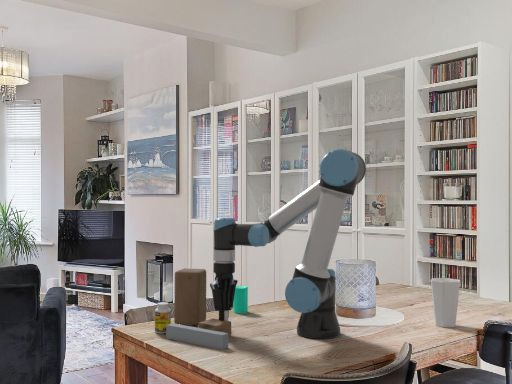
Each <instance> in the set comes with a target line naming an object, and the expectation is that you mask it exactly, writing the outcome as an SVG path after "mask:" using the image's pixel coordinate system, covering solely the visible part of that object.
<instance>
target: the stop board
mask: <svg viewBox="0 0 512 384" xmlns="http://www.w3.org/2000/svg"><path fill="white" fill-rule="evenodd" d="M165 334H166V335H165V336H166V338H165V339H167V338H168V340H172V339H173V341H176V342H177V341H178V342H183V343H187V344H188V343H189V344H193V345H197V346H203V347H208V348H213V349H217V350H225V349H228V348H229V337H228V333H224V332H218V331H213V330H207V329H202V328H198V327H196V326H195V327H194V326H191V325H179V324H175V322H173V323H171V324H168V325H166V333H165Z"/></svg>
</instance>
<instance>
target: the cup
mask: <svg viewBox="0 0 512 384" xmlns="http://www.w3.org/2000/svg"><path fill="white" fill-rule="evenodd" d="M429 281H430V287H431V296H432V304H433V305H432V306H433V308H432V309H433V316H434V324H435V326H436V327H440V328H455V327H456V324H457V323H456V322H457V313H458V306H459V296H460V295H459V294H460V288H461V287H460V286H461V280H460V279H455V278H449V277H434V278H433V277H432V278H431V279H430V280H429Z"/></svg>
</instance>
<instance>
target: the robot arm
mask: <svg viewBox="0 0 512 384" xmlns="http://www.w3.org/2000/svg"><path fill="white" fill-rule="evenodd" d="M319 173H320V177H319V180H317V181H316V182H315V183H313V184H312V185H310V186H309V187H308V188H306V189H305V190H304V191H303V192H301V193H300V194H298V195H297V196H295V197H294V198H293V199H292V200H290V201H289V202H288V203H287V202H286V204H285V205H283V206H282V207H281V208H279V209H278V210H276V211H275V212H274V213H272V214H271V215H270V216H269V217H267V218H265V219H264V220H263V221H261V222H260V223H259V222H258V223H236V218H234V217H216V218H214V222H213V224H214V225H213V230H212V231H213V261H214V263H213V273H214V274H215V277H214V281H213V282H212V283H210V284H209V286H210V289H211V293H212V300H213V307H214V310H215V311H218V319H219V320H221V321H223V320H225V321H229V314H230V312H229V311H232V308H233V302H234V295H235V289H236V286H238V285H237V284H238V279H235V278H234V275H233V274H234V273H235V271H236V263H235V261H236V246H244V247H246V246H247V247H255V248H257V247H265V246H267V244H271V243H272V242H274V241H276V240H277V238H278V237H279V236H281V235H282V234H283V233H284V232H286V231H287V230H288V229H289V228H291V227H292V226H294V225H296V224H297V223H298V222H300V221H301V220H302V219H304V218H305V217H306V216H308V215H309V214H311V213H312V212H314V211H315V213H314V218H313V219H312V220H313V221H312V225H311V228H310V231H309V235H308V240H307V242H306V247H305V249H304V253H303V256H302V260H301V262H300V263H299V264H296V266H295V267H294V271H293V275H292V279H290V280H289V282H288V283H287V285H286V287H285V290H284V297H285V300H286V302H287V304H288V306H289V307H290V308H291V309H293V310H294V311H296V312H298V313H299V314H300V316H299V319H298V323H297V326H296V333H297V335H298V336H300V337H302V338H303V337H304V338H307V339H318V340H320V339H321V340H323V339H324V340H325V339H334V338H337V337H340V336H341V325H340V323H339V320H338V316H337V313H336V280H337V278H336V271H335V270H334V269H333V268H329V265H330V262H331V258H332V253H333V250H334V248H335V247H334V246H335V243H336V240H337V236H338V233H339V230H340V226H341V223H342V219H343V215H344V212H345V209H346V205H347V201H348V200H349V199H350V198H352V197H354V194H355V190H356V188H357V185H358V184H360V183H361V182H362V181H363V180H364V178H365V176H366V173H367V165H366V162H365V160H364V159H363V157H362V156H361V155H359V154H358V153H357V152H352V151H351V150H348V149H343V148H338V149H337V148H336V149H333V150H330V151H328V152H327V153H326V154H325V155H324V156H323V157H322V159H321V161H320V164H319Z"/></svg>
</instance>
